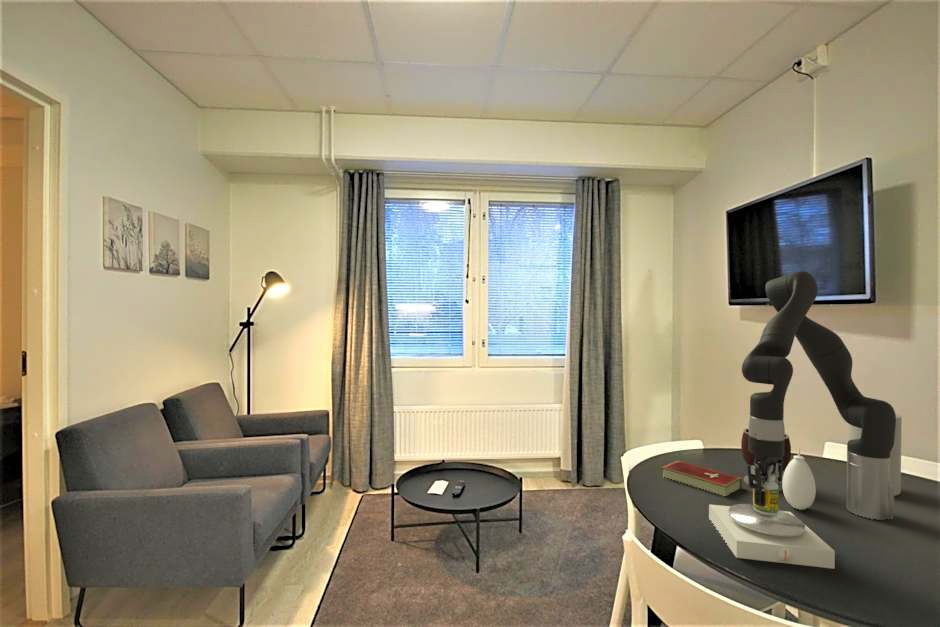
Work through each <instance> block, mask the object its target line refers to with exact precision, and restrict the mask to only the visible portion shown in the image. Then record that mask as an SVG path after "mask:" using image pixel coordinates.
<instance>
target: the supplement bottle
mask: <svg viewBox="0 0 940 627" xmlns="http://www.w3.org/2000/svg"><path fill="white" fill-rule="evenodd" d="M761 478H765V477H764V476H761ZM774 481H775V474H774V473H773V474H771V476H770V481H769V483H767V485H766V490H765V491H766V496H765V506H763V507H762V506H759V505H756V504H755V503H754V492H755V489H753V488H752V504H753V508H754V510H755V511H757V512H759V513H761V514H765V515H777V514H778V510H779V492H780V491H779V487H778V484H777V483H776V482H774ZM753 482H754V481H753Z"/></svg>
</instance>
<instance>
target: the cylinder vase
mask: <svg viewBox="0 0 940 627" xmlns="http://www.w3.org/2000/svg"><path fill="white" fill-rule="evenodd" d="M895 415H896V427H895V439H894V446H893V448H892V450H891V452H890V484H892V485H893V486H894V495H897V496H899V495H900V494H901V491H902V490H901V489H902V487H901V486H902V485H901V483H902V481H901V479H902V478H901V477H902V473H901V472H902V423H903V422H902V419H903V418H902V415H900V414H898V413H895ZM848 433H849V436H848V437H849V440H854V439H860V438H861V433H862V429H861V428H858V427H855V426H852V425H850V424H849V432H848ZM849 440H848V441H849ZM898 494H899V495H898Z"/></svg>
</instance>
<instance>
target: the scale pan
mask: <svg viewBox="0 0 940 627" xmlns="http://www.w3.org/2000/svg"><path fill="white" fill-rule="evenodd" d="M730 506H731V507H730V508H729V516H730V518H731V519H732V520H734V521H735V522H736V523H738V524H740V525H741V526H744V527H746V528H748V529H751V530H753V531H756V532H760V533H763V534H768V535H773V536H780V537H796V536H800V535H803V534H804V533H805V525H806V524H805V525H804V522H802V520H801V519H799V518H798V517H797V516H796V515H794V514H793V515H794V516H793V515H791V514H789V513H786V512H784V511H785V510H781V509H778V514H777V515H765V514H761V513H759V512H757V511H755V510H754V508H753V503H739V504H733V505H730ZM795 516H796V517H797V518H796V517H795Z"/></svg>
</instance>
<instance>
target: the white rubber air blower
mask: <svg viewBox="0 0 940 627" xmlns="http://www.w3.org/2000/svg"><path fill="white" fill-rule="evenodd" d="M797 449H798V452H797V455H793V459H790V462H789V464H788V466H787V467H786V469H785V470H784V471H783V474H782V487H783V491H782V492H783V495H784V498H785V500H786V502H787V503H788V504H789V505H790V506H791V507H793V508H794V509H795V508H796V510H797V509H799V511H803V510H806V509H807V508H810V507H811V506H812V505H813V503H814V501H815V499H816V494H817V493H816V482H815V477H814V474H813V472H812V470H811V468H810V466H809V464H808V463H807V461H806V459H805V457H804V456H802V455H801V448H800V447H798V448H797Z"/></svg>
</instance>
